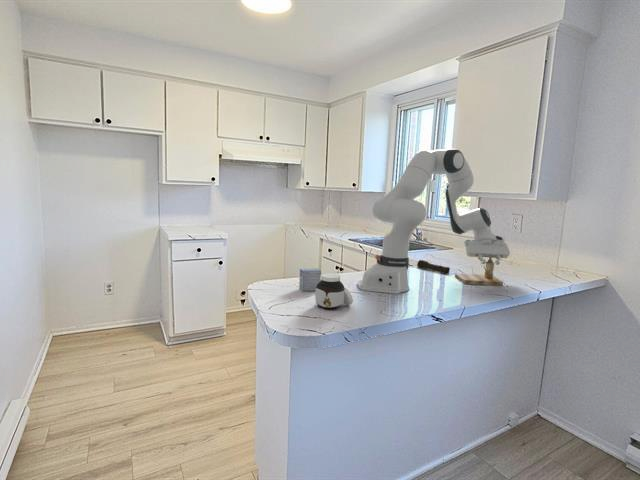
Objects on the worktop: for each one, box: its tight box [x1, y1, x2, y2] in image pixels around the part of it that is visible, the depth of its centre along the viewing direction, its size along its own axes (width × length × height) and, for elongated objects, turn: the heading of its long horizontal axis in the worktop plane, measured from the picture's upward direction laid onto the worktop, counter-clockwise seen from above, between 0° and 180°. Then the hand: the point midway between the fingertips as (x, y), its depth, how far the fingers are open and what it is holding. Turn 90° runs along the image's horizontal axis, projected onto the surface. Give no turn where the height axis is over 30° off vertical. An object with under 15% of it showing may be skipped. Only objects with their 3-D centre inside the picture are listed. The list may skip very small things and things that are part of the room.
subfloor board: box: [454, 273, 504, 287], centre depth 177 cm, size 18×13×2 cm
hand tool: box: [416, 259, 451, 275], centre depth 196 cm, size 19×4×5 cm, turn 37°
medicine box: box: [298, 267, 322, 292], centre depth 150 cm, size 8×4×9 cm, turn 111°
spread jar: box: [314, 272, 354, 311], centre depth 131 cm, size 12×11×12 cm
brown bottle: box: [484, 255, 495, 278], centre depth 176 cm, size 4×4×11 cm
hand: (490, 263), depth 175 cm, fingers open, 5 cm apart
